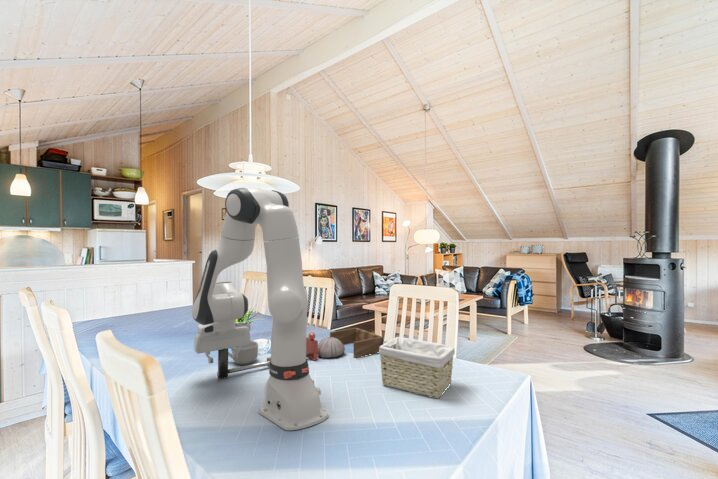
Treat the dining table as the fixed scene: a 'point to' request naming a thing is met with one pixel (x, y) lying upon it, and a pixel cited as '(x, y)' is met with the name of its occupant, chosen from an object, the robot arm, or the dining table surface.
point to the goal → (359, 340)
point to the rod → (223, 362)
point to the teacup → (246, 353)
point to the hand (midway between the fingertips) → (223, 360)
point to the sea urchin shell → (330, 347)
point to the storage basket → (416, 365)
